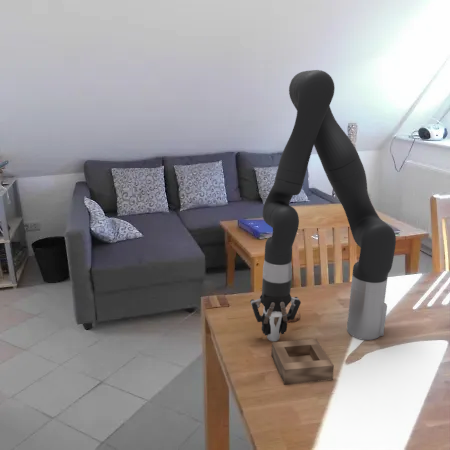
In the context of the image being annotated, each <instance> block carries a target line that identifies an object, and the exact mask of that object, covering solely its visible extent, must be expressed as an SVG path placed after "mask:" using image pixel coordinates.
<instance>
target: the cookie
mask: <svg viewBox="0 0 450 450" xmlns="http://www.w3.org/2000/svg"><path fill="white" fill-rule="evenodd" d="M290 307H291V304H290V303H289V304H288V305H287V308H285V309H286V313H287V314H288V311H289V309H290ZM300 319H301V312H300V310H299V309H298V311H297V313H296V315H295V318H294V319H293V320H289V321H288V322H287V324H289V323H295V322H297V321H299V320H300Z"/></svg>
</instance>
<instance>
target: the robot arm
mask: <svg viewBox="0 0 450 450" xmlns="http://www.w3.org/2000/svg"><path fill="white" fill-rule="evenodd" d="M288 95H289V99H290V101H291V103H292V104H293V106H294V108H295V109H296V116H295V122H294V125H293V129H292V132H291V134H290V137H289V138H288V140H287V142H286V144H285V147H284V149H283V151H282V153H281V157H280V159H279V161H278V167H277V169H276V175H275V179H274V183H273V185H272V186H271V188H270V190H269V193H268V195H267V197H266V198H265V201H264V204H263V207H262V218H263V220H264V222H265V223H266V224H267V225H268V226H269V227H271V228H272V234H271V237H268V238H267V239H266V240H265V244H264V261H263V266H262V279H261V280H262V281H261V282H262V284H261V285H262V287H261V294H260V296H259V298H257V299H251V300H250V301H249V302H250V306H251V308H252V312H253V314H254V317H255V319H256V321H257V323H261V332H262V333H263V334H264V336H266V337H267V335H268V325H269V324H268V320H269V317H271V314H272V312H274V311H277V312H281V313H282V324H281V330H280V335H285V333H287V330H288V329H287V328H288V323H287V322H288V321H289V320H293V319H294V318H295V315H296V313H297V311H298V310H299V308H300V306H301V304H302V302H301V300H300V298H299V297H298V296H294V297H293V296H291V286H292V277H293V276H292V275H293V274H292V273H293V272H292V271H293V267H292V266H293V265H292V258H293V255H292V254H293V246H294V245H293V244H294V242H295V241H296V237H297V234H298V230H299V226H300V225H299V224H300V220H299V219H300V218H299V213H298V212H297V210H296V209H295V207H293V206H291V205H290V204H291V201H292V198H293V197H294V196H298V195H299V194H301V191H302V189H303V185H304V182H305V178H306V174H307V169H308V166H309V162H310V159H311V155H312V151H313V148H314V149H315V151H316V153H317V155H318V158H319V161H320V163H321V165H322V168H323V170H324V173H325V175H326V178H327V179H328V181H329V184H330V186H331V187H332V189H333V192H334V193H335V195H336V197H337V199H338V201H339V203H340V205H341V206H342V208H343V211H344V213H345V216H346V219H347V223H348V225H349V228H350V231H351V235H352V238H353V240H354V242H355V243H356V245H357V246H358V247H359V248H360V249H359V258H358V261H357V262H355V263H354V264H353V266H352V274H351V285H350V293H349V294H350V295H349V305H348V314H347V315H348V316H347V324H346V325H347V326H346V331H347V333H348V334H350V336H353V337H354V338H356V339H360V340H366V341H367V340H368V341H372V340H376V339H378V338H379V337H383V336H384V335H385V334H384V333H385V325H386V317H387V309H388V304H387V303H385V302H386V300H385V299H386V293H387V287H388V286H387V284H388V275H389V273H390V272H391V270H392V267H393V264H394V263H393V261H394V257H395V251H396V245H397V244H396V243H397V237H396V232H395V231H394V229H393V228H392V226H390V225H389V224H388V223H386V222H385V221H383V219H381V218H380V216H379V215H378V213H377V211H376V210H375V208H374V205H373V204H372V202H371V199H370V196H369V191H368V182H367V180H368V179H367V174H366V171H365V167H364V164H363V162H362V160H361V158H360V155H359V153H358V151H357V149H356V147H355V145H354V143H353V142H352V141H351V139H350V137H349V136H348V135H347V134H346V132H345V131H344V129H343V128H342V127H341V126H340V124H339V123H338V121H337V120H336V118H335V116H334V114H333V112H332V109H331V106H330V105H331V102H332V100H333V98H334V95H335V81H334V79H333V77H332V76H331V75H330V74H329V73H328V72H327V71H323V70H320V69H313V70H312V69H311V70H305V71H301V72H298V73H297V74H295V75H294V76H293V78H292V79H291V81H290V83H289V87H288ZM261 304H262V306H263V312H262V314H261V313H260V311H259V308H260V307H261ZM288 304H289V305H291V307H290V309H289V311H288V314H287V313H286V309H285V308H286V307H287V305H288Z"/></svg>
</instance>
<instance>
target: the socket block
mask: <svg viewBox="0 0 450 450" xmlns="http://www.w3.org/2000/svg"><path fill="white" fill-rule="evenodd" d="M270 353H271V359H272V361H273V363H274V365H275V366H276V370H277V371H278V374H279V376H280V378H281V381H282V383H283V385H291V384H300V383H313V382H323V381H333V376H334V370H335V369H334V366H335V365H334V364H333V362H332V360H331V359H330V358H329V355H328V354H327V352H326V351H325V350H324V348H323V346H322V345H321V343H320V341H319V340H318V339H317V338H311V339H299V340H285V341H275V342H274V341H271V352H270Z"/></svg>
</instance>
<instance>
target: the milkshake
mask: <svg viewBox="0 0 450 450" xmlns="http://www.w3.org/2000/svg"><path fill="white" fill-rule="evenodd" d="M286 308H287V307H286ZM268 324H269V325H268V335H266V338H267V340H268V341H270V342H279V340H280V336H281V332H280V330H281V324H282V313H281V312H277V311H274V312H272V314H271V317H269V320H268Z"/></svg>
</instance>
